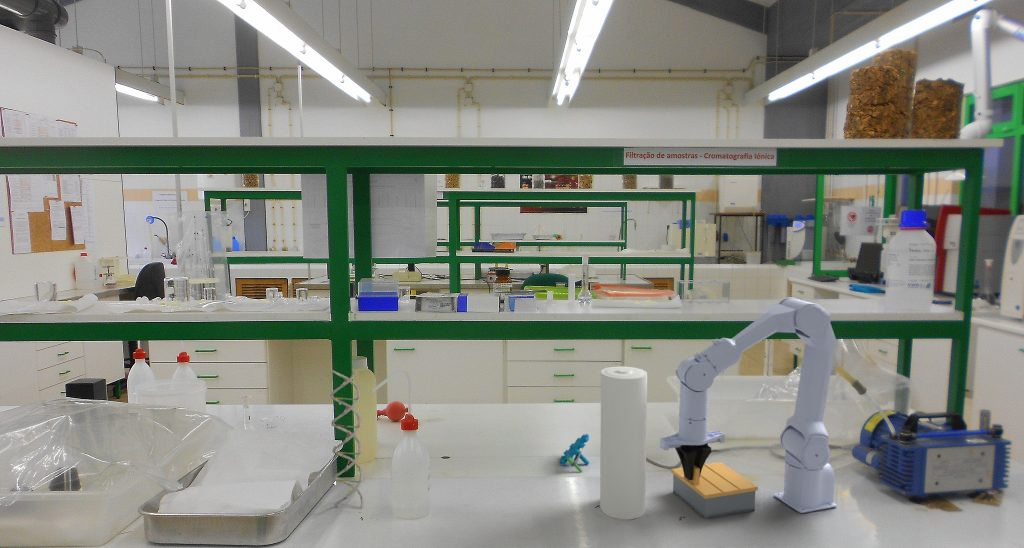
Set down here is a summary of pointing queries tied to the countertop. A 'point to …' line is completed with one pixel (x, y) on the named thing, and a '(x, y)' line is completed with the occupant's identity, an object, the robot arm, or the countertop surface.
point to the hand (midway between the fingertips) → (691, 477)
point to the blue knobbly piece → (575, 453)
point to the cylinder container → (623, 442)
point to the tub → (714, 501)
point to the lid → (716, 481)
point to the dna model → (355, 488)
